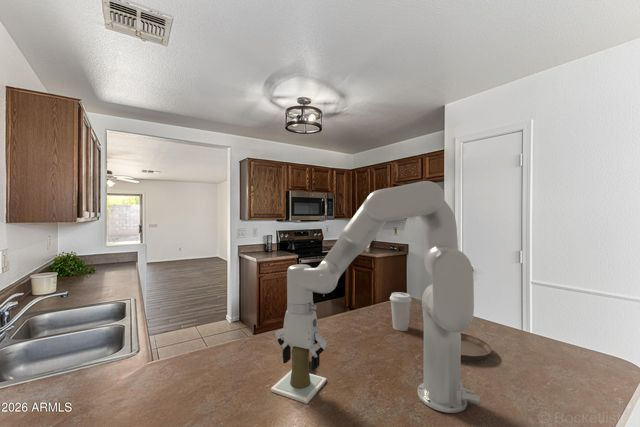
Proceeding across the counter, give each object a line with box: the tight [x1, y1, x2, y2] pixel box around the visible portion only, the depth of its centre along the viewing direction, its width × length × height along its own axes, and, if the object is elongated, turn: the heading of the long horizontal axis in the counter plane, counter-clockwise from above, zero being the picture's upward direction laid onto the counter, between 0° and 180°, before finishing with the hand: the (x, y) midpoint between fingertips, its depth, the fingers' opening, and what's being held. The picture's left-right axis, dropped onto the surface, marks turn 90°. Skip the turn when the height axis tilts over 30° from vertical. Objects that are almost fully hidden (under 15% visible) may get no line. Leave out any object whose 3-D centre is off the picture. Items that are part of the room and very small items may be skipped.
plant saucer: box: [461, 332, 492, 362], centre depth 109 cm, size 21×21×3 cm
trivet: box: [270, 369, 327, 405], centre depth 86 cm, size 12×12×1 cm
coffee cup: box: [389, 291, 412, 332], centre depth 129 cm, size 10×10×15 cm
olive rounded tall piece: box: [290, 346, 311, 389], centre depth 86 cm, size 6×6×11 cm
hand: (300, 364), depth 86 cm, fingers open, 9 cm apart
